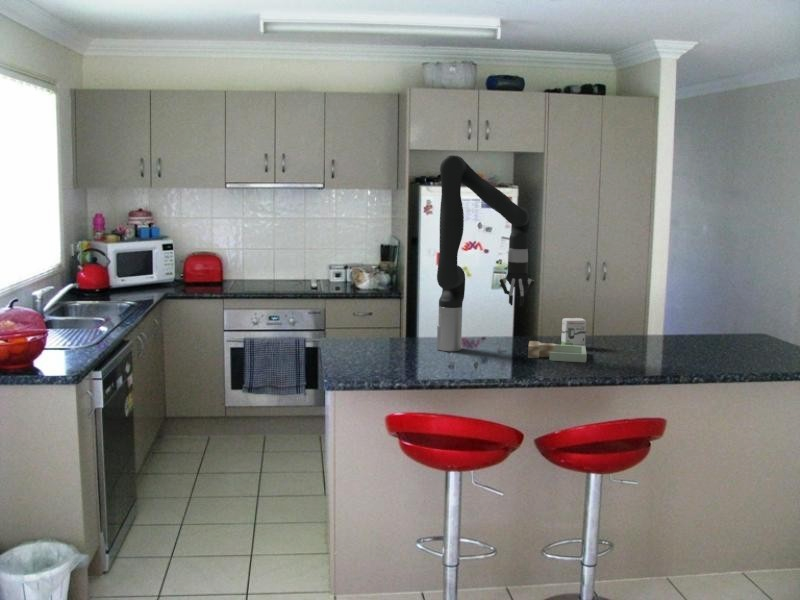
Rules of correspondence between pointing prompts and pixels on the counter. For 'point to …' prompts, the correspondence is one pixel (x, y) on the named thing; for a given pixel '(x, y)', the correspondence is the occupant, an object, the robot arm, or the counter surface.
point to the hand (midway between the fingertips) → (516, 305)
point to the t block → (540, 349)
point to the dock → (569, 353)
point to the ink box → (573, 331)
